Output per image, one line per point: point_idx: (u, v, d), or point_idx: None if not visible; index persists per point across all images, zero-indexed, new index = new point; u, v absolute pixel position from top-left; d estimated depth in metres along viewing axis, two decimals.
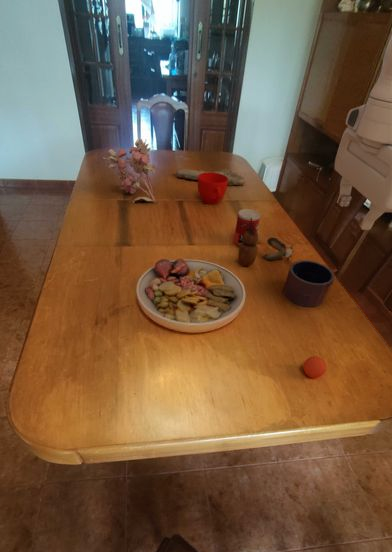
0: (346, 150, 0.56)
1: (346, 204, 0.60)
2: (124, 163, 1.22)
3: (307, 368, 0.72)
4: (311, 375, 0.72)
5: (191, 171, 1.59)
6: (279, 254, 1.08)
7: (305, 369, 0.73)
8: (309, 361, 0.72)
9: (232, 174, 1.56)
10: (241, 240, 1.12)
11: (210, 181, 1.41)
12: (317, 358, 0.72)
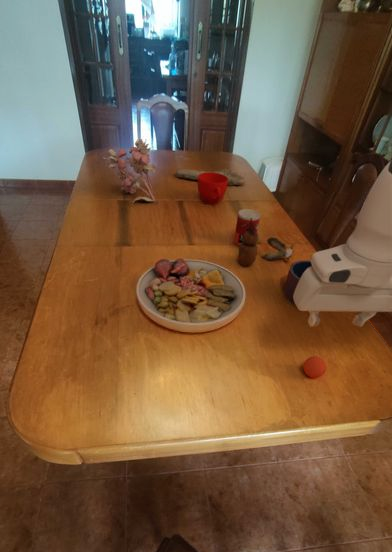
0: (318, 295, 0.56)
1: None
2: (124, 163, 1.22)
3: (307, 368, 0.72)
4: (311, 375, 0.72)
5: (191, 171, 1.59)
6: (279, 254, 1.08)
7: (305, 369, 0.73)
8: (309, 361, 0.72)
9: (232, 174, 1.56)
10: (241, 240, 1.12)
11: (210, 181, 1.41)
12: (317, 358, 0.72)
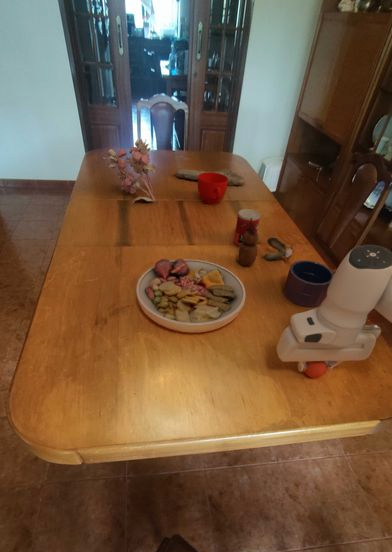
0: (297, 350, 0.66)
1: None
2: (124, 163, 1.22)
3: (307, 368, 0.72)
4: (311, 375, 0.72)
5: (191, 171, 1.59)
6: (279, 254, 1.08)
7: None
8: (309, 361, 0.72)
9: (232, 174, 1.56)
10: (241, 240, 1.12)
11: (210, 181, 1.41)
12: None
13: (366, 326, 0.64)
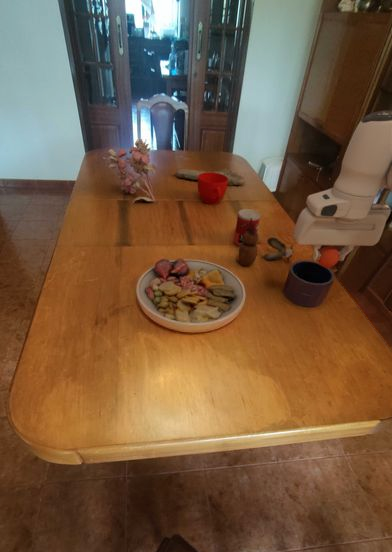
0: (313, 229, 0.71)
1: None
2: (124, 163, 1.22)
3: (321, 257, 0.77)
4: (325, 263, 0.77)
5: (191, 171, 1.59)
6: (279, 254, 1.08)
7: None
8: (322, 249, 0.77)
9: (232, 174, 1.56)
10: (241, 240, 1.12)
11: (210, 181, 1.41)
12: (330, 247, 0.77)
13: (377, 204, 0.69)
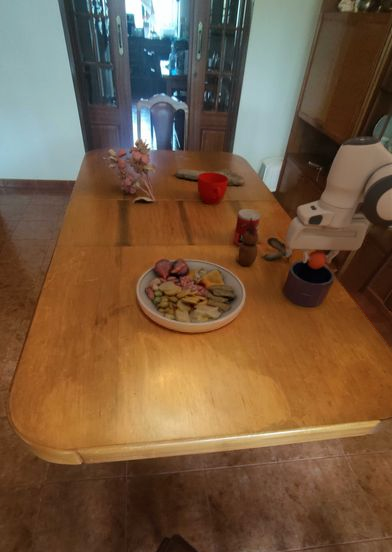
0: (302, 236, 0.81)
1: None
2: (124, 163, 1.22)
3: (310, 259, 0.87)
4: (313, 265, 0.87)
5: (191, 171, 1.59)
6: (279, 254, 1.08)
7: None
8: (311, 253, 0.87)
9: (232, 174, 1.56)
10: (241, 240, 1.12)
11: (210, 181, 1.41)
12: (318, 251, 0.87)
13: (358, 215, 0.80)
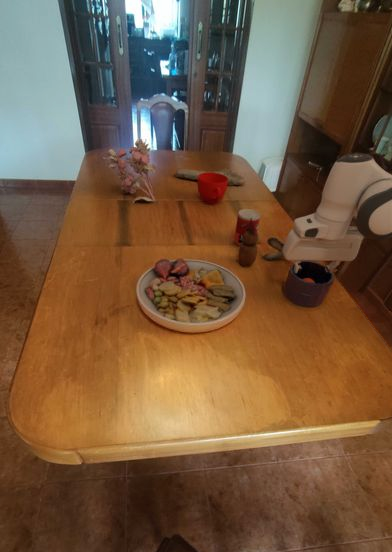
0: (299, 247, 0.83)
1: None
2: (124, 163, 1.22)
3: None
4: None
5: (191, 171, 1.59)
6: (279, 254, 1.08)
7: None
8: None
9: (232, 174, 1.56)
10: (241, 240, 1.12)
11: (210, 181, 1.41)
12: (308, 278, 0.94)
13: (353, 227, 0.82)
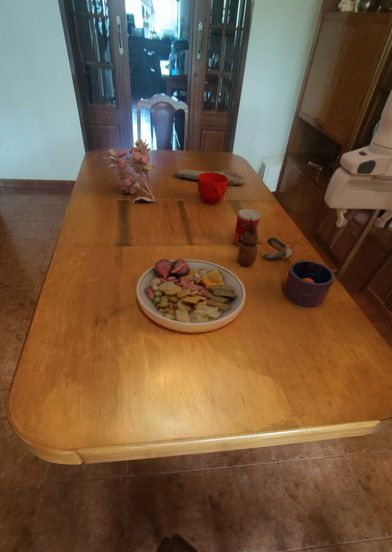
0: (347, 190, 0.67)
1: None
2: (124, 163, 1.22)
3: None
4: None
5: (191, 171, 1.59)
6: (279, 254, 1.08)
7: None
8: None
9: (232, 174, 1.56)
10: (241, 240, 1.12)
11: (210, 181, 1.41)
12: (307, 278, 0.94)
13: None
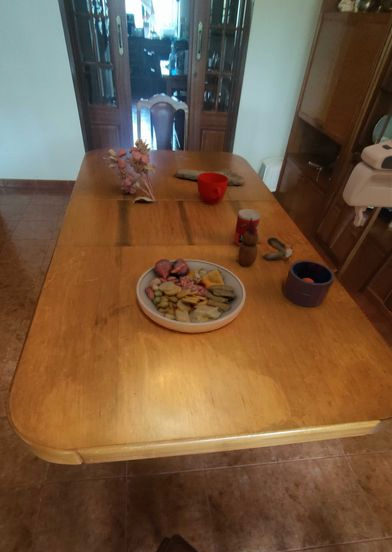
0: (368, 187, 0.62)
1: None
2: (124, 163, 1.22)
3: None
4: None
5: (191, 171, 1.59)
6: (279, 254, 1.08)
7: None
8: None
9: (232, 174, 1.56)
10: (241, 240, 1.12)
11: (210, 181, 1.41)
12: (307, 278, 0.93)
13: None
